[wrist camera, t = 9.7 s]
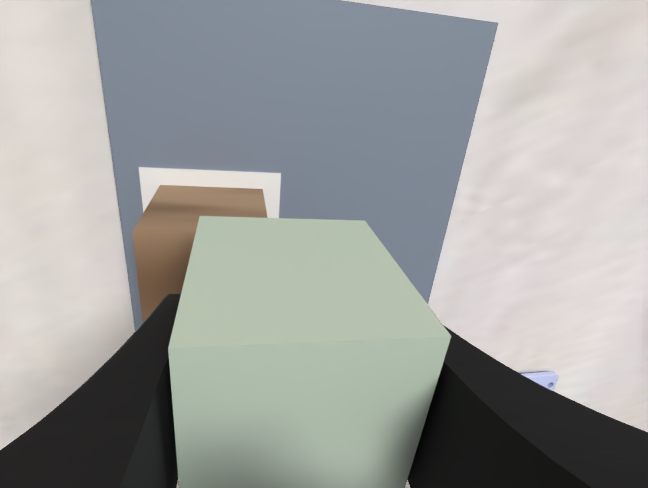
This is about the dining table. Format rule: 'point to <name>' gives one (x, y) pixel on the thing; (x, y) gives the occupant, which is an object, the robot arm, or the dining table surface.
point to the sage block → (299, 357)
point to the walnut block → (181, 233)
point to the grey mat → (295, 111)
